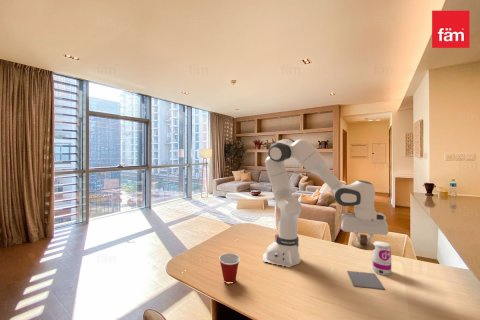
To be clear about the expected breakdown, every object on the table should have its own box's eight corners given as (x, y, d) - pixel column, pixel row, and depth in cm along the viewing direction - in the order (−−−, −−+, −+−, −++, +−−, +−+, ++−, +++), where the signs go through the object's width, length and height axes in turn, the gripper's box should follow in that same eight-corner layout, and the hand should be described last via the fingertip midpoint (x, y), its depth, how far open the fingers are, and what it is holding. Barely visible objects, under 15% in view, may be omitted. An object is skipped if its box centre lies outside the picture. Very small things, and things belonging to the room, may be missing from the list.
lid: (355, 249, 103) (355, 238, 102) (349, 240, 112) (349, 231, 112) (378, 251, 100) (378, 240, 100) (370, 242, 110) (370, 232, 110)
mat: (353, 286, 102) (353, 285, 102) (347, 271, 114) (347, 270, 114) (385, 289, 99) (385, 288, 99) (374, 274, 111) (374, 273, 111)
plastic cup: (235, 289, 101) (234, 264, 101) (215, 284, 106) (214, 260, 106) (244, 277, 111) (243, 254, 111) (225, 273, 116) (225, 251, 115)
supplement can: (394, 276, 109) (394, 247, 108) (376, 275, 110) (376, 246, 110) (386, 268, 117) (386, 240, 116) (370, 267, 118) (369, 240, 118)
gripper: (342, 213, 105) (341, 241, 106) (390, 217, 101) (389, 246, 101) (339, 210, 111) (339, 237, 112) (384, 213, 107) (383, 241, 107)
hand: (363, 241), depth 106 cm, fingers closed on lid, 3 cm apart
